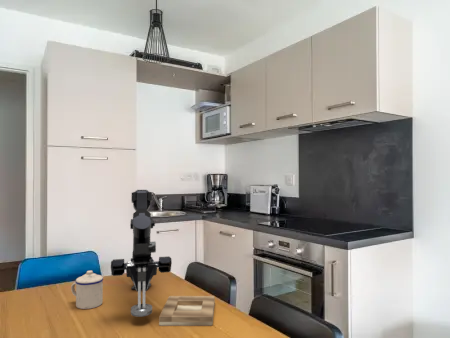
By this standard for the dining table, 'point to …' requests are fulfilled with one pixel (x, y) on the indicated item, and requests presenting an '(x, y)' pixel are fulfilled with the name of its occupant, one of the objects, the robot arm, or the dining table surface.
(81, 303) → the teacup with lid
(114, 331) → the dining table surface
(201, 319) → the square wooden tray
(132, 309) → the round base pedestal
